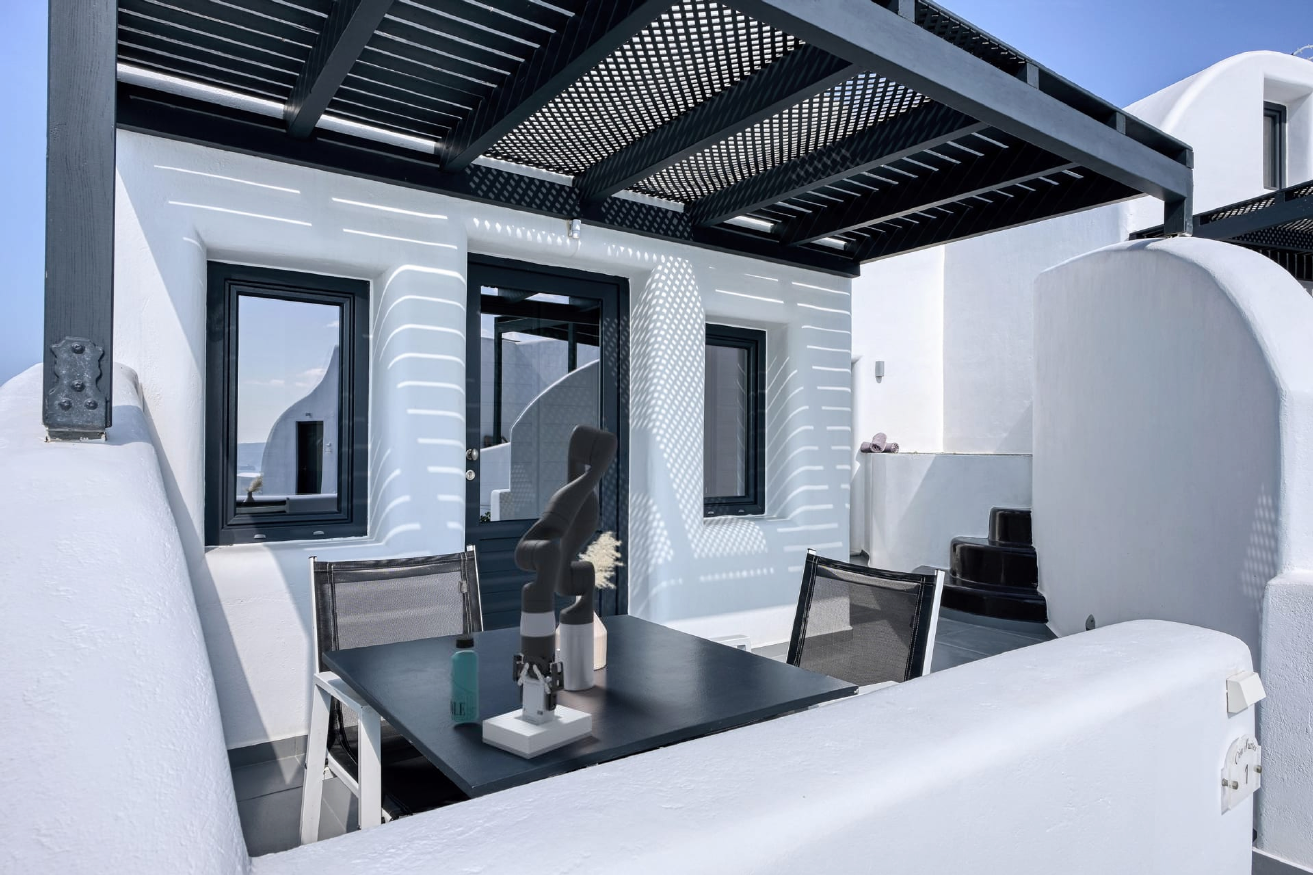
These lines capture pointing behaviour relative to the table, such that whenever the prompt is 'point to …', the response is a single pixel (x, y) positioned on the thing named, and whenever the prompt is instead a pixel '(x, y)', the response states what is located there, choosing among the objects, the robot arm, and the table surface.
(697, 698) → the table surface
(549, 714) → the skincare box
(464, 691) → the beverage bottle
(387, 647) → the table surface
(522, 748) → the white flat block
